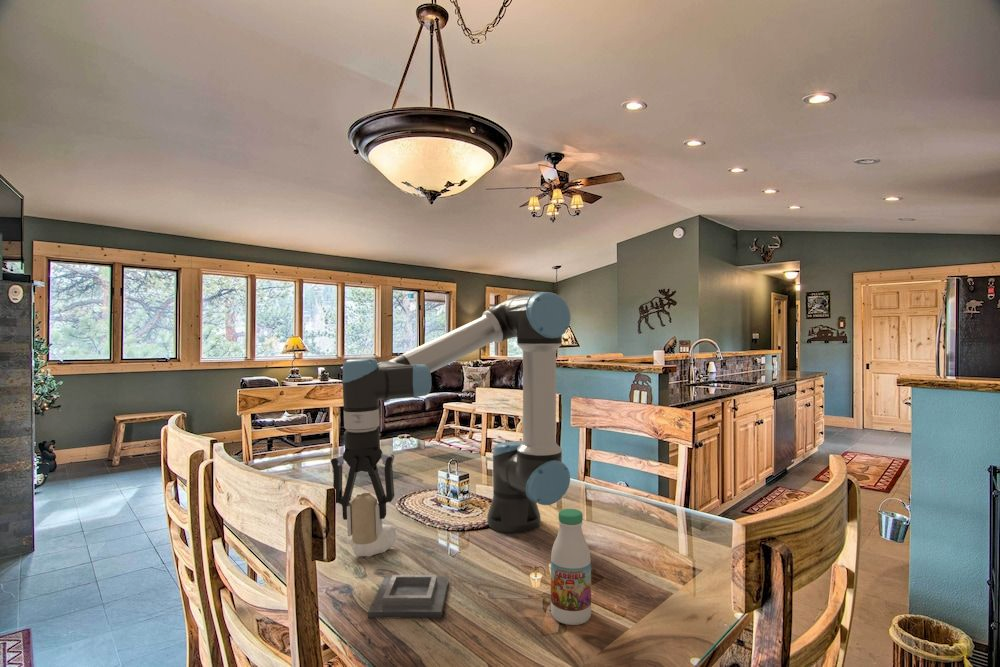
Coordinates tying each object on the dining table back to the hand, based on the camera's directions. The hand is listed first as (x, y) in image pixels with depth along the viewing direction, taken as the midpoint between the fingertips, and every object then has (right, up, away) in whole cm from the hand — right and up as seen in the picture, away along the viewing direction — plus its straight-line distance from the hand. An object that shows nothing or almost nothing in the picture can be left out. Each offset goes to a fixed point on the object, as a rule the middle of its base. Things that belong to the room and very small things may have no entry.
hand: (365, 533), depth 114 cm
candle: (0, -2, 0) cm, 2 cm away
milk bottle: (+43, -11, -14) cm, 47 cm away
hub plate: (+12, -10, -8) cm, 18 cm away
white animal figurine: (-2, -10, +15) cm, 18 cm away
